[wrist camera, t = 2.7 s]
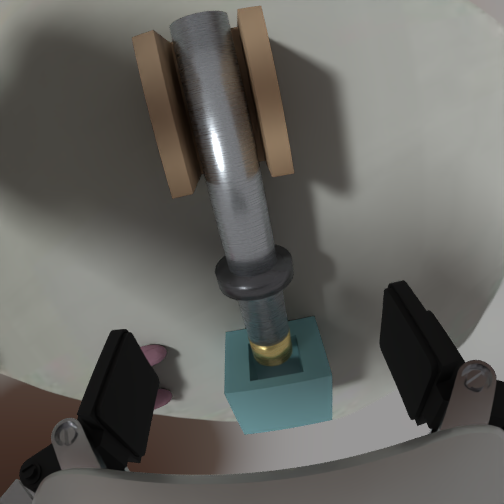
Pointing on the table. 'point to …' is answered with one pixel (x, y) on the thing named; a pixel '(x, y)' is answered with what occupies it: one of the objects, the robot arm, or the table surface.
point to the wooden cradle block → (176, 111)
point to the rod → (234, 182)
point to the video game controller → (154, 356)
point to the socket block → (279, 382)
